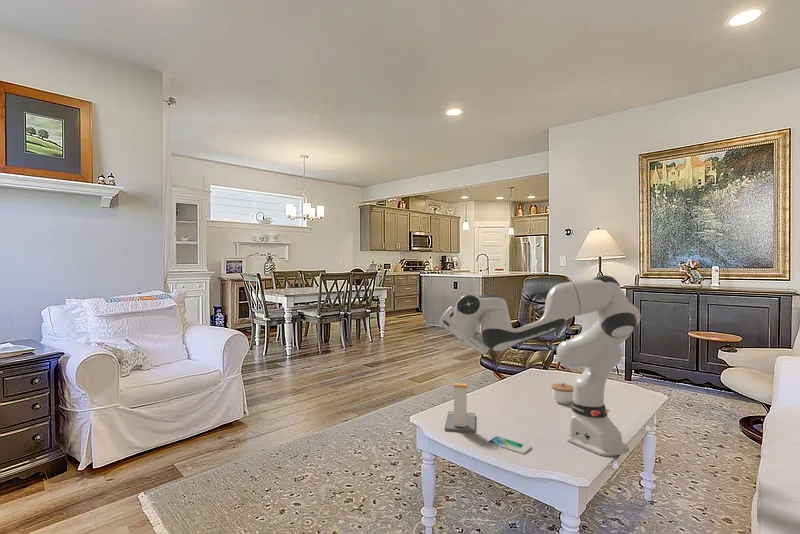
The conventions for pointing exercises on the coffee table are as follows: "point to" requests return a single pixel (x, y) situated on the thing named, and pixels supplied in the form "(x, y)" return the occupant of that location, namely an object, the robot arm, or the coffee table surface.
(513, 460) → the coffee table surface
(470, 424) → the board
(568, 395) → the lidded jar
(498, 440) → the smartphone
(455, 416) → the fader tab
